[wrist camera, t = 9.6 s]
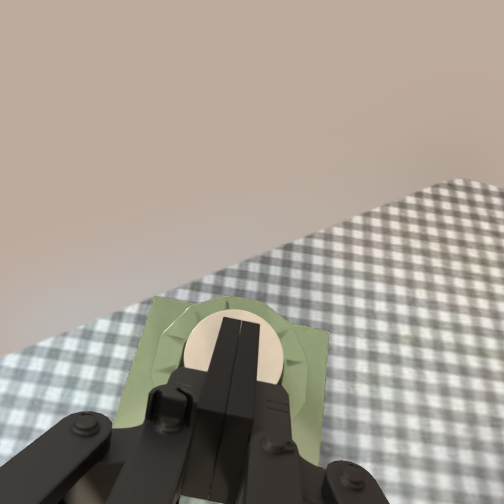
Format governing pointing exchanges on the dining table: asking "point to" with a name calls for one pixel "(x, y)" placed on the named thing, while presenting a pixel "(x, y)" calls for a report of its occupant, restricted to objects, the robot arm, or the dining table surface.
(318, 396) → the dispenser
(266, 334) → the beige short cylinder
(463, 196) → the dining table surface
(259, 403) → the robot arm
